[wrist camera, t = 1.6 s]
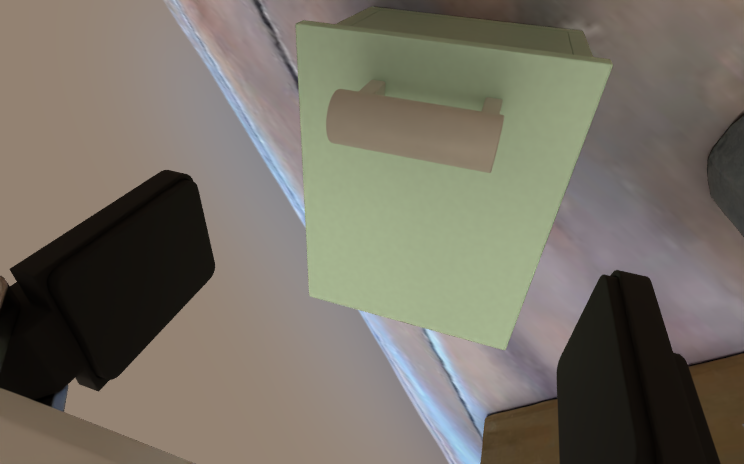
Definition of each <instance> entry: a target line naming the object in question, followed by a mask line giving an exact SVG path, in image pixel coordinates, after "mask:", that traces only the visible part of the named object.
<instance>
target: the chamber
mask: <svg viewBox="0 0 744 464" xmlns="http://www.w3.org/2000/svg"><path fill="white" fill-rule="evenodd" d="M336 25H344V26H352V27H360V28H367V29H375V30H383V31H391V32H399V33H407V34H415V35H423V36H430V37H438V38H446V39H454V40H462V41H470V42H478V43H486V44H493V45H501V46H509V47H517V48H525V49H533V50H541V51H549V52H556V53H564V54H572V55H580V56H588V57H593V55H592V53H591V50H590V48H589V45H588V42H587V40H586V37H585V35H584V33H583V31H579V30H571V29H562V28H553V27H544V26H536V25H527V24H518V23H510V22H501V21H492V20H484V19H475V18H466V17H458V16H449V15H440V14H432V13H423V12H414V11H406V10H397V9H388V8H379V7H369V8H367V9H365V10H363V11H361V12H359V13H357V14H355V15H353V16H351V17H349V18H347V19H345V20H343V21H341V22H339V23H337V24H336Z"/></svg>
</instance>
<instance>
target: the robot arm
mask: <svg viewBox="0 0 744 464" xmlns="http://www.w3.org/2000/svg"><path fill="white" fill-rule="evenodd" d="M214 270H215V262H214V257H213V253H212V249H211V244H210V239H209V235H208V231H207V226H206V222H205V217H204V213H203V208H202V204H201V200H200V195H199V191H198V187H197V184H196V183H195V182H193V179H192V178H191V177H190V176H189V175H187V174H184V173H179V172H175V171H170V170H164V171H161V172H160V173H158V174H156V175H155V176H153V177H152V178H150V179H149V180H147V181H145V182H144V183H142V184H141V185H139V186H138V187H136V188H135V189H133V190H132V191H130V192H128V193H127V194H125V195H124V196H122V197H121V198H119V199H117V200H116V201H115V202H113V203H112V204H110V205H108V206H107V207H105V208H104V209H102V210H101V211H99V212H97V213H96V214H94V215H93V216H91V217H90V218H88V219H86V220H85V221H83V222H82V223H80V224H79V225H77V226H76V227H74V228H73V229H71V230H69V231H68V232H66V233H65V234H63V235H62V236H60V237H59V238H57V239H55V240H54V241H52V242H51V243H49V244H48V245H46V246H45V247H43V248H41V249H40V250H38V251H37V252H36V253H34V254H32V255H31V256H29V257H28V258H26V259H24V260H23V261H22V262H20V263H18V264H17V265H15V266H14V267H12V268H10V271H11V272H12V274H13V276H14V277H15V279H16V281H17V282H16V283H14V284H13V285H12V286H9V285H8V283H7V281H6V280H5V279H4V278H3V277H2V276H0V464H195V463H193V462H190V461H187V460H185V459H182V458H180V457H177V456H175V455H172V454H170V453H167V452H165V451H162V450H159V449H157V448H154V447H152V446H149V445H147V444H144V443H142V442H139V441H137V440H134V439H132V438H129V437H126V436H124V435H121V434H119V433H116V432H114V431H111V430H108V429H106V428H103V427H101V426H98V425H96V424H93V423H91V422H88V421H85V420H82V419H80V418H78V417H75V416H73V415H70V414H67V413H65V412H64V409H65V403H66V397H67V391H68V383H70V382H71V381H72V380H73V379H74V378H76V379H77V381H78V383H79V384H80V385H83V386H86V387H88V388H91V389H94V390H96V391H99V390H100V389H101V388H102V387H103V386H104V385H105V384H106V383H107V382H108V381H109V380H111V379H114V378H116V377H118V376H119V375H120V374H121V373H122V372H123V371H124V370H125V369H126V368H127V367H128V365H129V364H130V363H131V362H132V361H133V360H134V359H135V358H136V357H137V356H138V355H139V354H140V353H141V352H142V351H143V349H144V348H145V347H146V346H147V345H148V344H149V343H150V342H151V341H152V340H153V339H154V338H155V336H157V335H158V333H159V332H160V331H161V330H162V329H163V328H164V327H165V326H166V325H167V324H168V323H169V322H170V321H171V320H172V319H173V318H174V316H175V315H176V314H177V313H178V312H179V311H180V310H181V309H182V308H183V307H184V306H185V305H186V304H187V303H188V301H189V300H190V299H191V298H192V297H193V296H194V295H195V294H196V293H197V292H198V291H199V290H200V289H201V288H202V287H203V286H204V285H205V284H206V283H207V281H208V280H209V279H210V278H211V277H212V275H213V273H214ZM557 401H558V430H559V460H560V464H721V463H720V460H719V457H718V454H717V451H716V448H715V445H714V442H713V439H712V436H711V433H710V430H709V427H708V424H707V421H706V418H705V415H704V412H703V409H702V406H701V403H700V400H699V397H698V394H697V391H696V388H695V385H694V382H693V379H692V376H691V373H690V370H689V367H688V365H687V363H686V361H685V359H684V358H683V357H682V356H681V355H680V354H676V353H673V351H672V347H671V344H670V341H669V338H668V334H667V331H666V328H665V325H664V321H663V318H662V315H661V312H660V309H659V305H658V302H657V299H656V296H655V292H654V289H653V286H652V283H651V280H650V278H648V277H646V276H642V275H637V274H633V273H628V272H624V271H619V270H616V271H614V272H613V273H612V274H611V276H608V275H602V276H601V277H600V279H599V280H598V282H597V284H596V286H595V288H594V290H593V292H592V294H591V296H590V298H589V300H588V303H587V305H586V307H585V309H584V311H583V313H582V315H581V317H580V319H579V321H578V323H577V325H576V327H575V329H574V331H573V333H572V335H571V337H570V339H569V341H568V343H567V345H566V347H565V349H564V351H563V353H562V355H561V357H560V360H559V363H558V367H557Z"/></svg>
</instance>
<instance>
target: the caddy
mask: <svg viewBox="0 0 744 464" xmlns="http://www.w3.org/2000/svg"><path fill="white" fill-rule="evenodd" d="M689 370H690V373H691V376H692V379H693V382H694V385H695V388H696V391H697V394H698V397H699V400H700V403H701V406H702V409H703V412H704V415H705V418H706V421H707V424H708V427H709V430H710V433H711V436H712V439H713V442H714V445H715V448H716V451H717V454H718V457H719V460H720V463H721V464H744V427H743V425H742V424H744V353H742V354H739V355H735V356H731V357H727V358H724V359H719V360H715V361H711V362H707V363H703V364H698V365H694V366H689ZM480 464H560V460H559V430H558V401H557V399H553V400H548V401H545V402H541V403H538V404H535V405H531V406H528V407H523V408H519V409H515V410H511V411H507V412H502V413H497V414H493V415H490V416H487V417H486V418H485V423H484V432H483V445H482V455H481V463H480Z"/></svg>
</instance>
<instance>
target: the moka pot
mask: <svg viewBox="0 0 744 464" xmlns="http://www.w3.org/2000/svg"><path fill="white" fill-rule="evenodd" d="M707 173H708V183H709V188H710V194H711V197H712V198H713V200H714V201H715V202H716V204H717V205H718V206H719V208H720V209H721V210H722V211H723V213H724V214H725V215H726V216H727V217H728V218H729V220H730V221H731V222H732V223H733V224H734V226H735V227H736V228H737V229H738V230H739V232H740V233H741V234H742V235H743V237H744V116H742V117H741V118H740V119H739V120H738V121H737V122H735V123H734V124H733V125H732V126H731V127H730V128H729V129H728V130H727V132H726V133H725V134H724V136H723V137H722V138H721V139H720V140H719V141H718V143H717V144H716V145H715V146H714V148H713V150H712V152H711V154H710V156H709V159H708V167H707ZM742 425H743V427H744V424H742Z"/></svg>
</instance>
